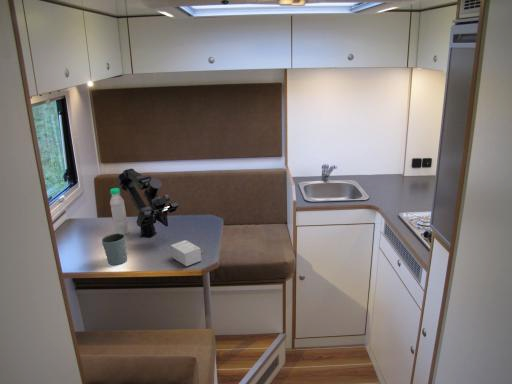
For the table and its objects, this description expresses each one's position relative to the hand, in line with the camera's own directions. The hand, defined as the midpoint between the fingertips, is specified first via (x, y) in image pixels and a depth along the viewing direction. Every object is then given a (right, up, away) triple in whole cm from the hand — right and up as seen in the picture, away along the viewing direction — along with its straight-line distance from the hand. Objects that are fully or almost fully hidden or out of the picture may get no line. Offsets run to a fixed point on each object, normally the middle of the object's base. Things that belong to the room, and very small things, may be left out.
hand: (167, 226), depth 207 cm
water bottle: (-29, -6, +26) cm, 40 cm away
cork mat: (+13, -14, -7) cm, 20 cm away
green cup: (-22, -16, -6) cm, 28 cm away
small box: (+7, -10, -6) cm, 13 cm away
